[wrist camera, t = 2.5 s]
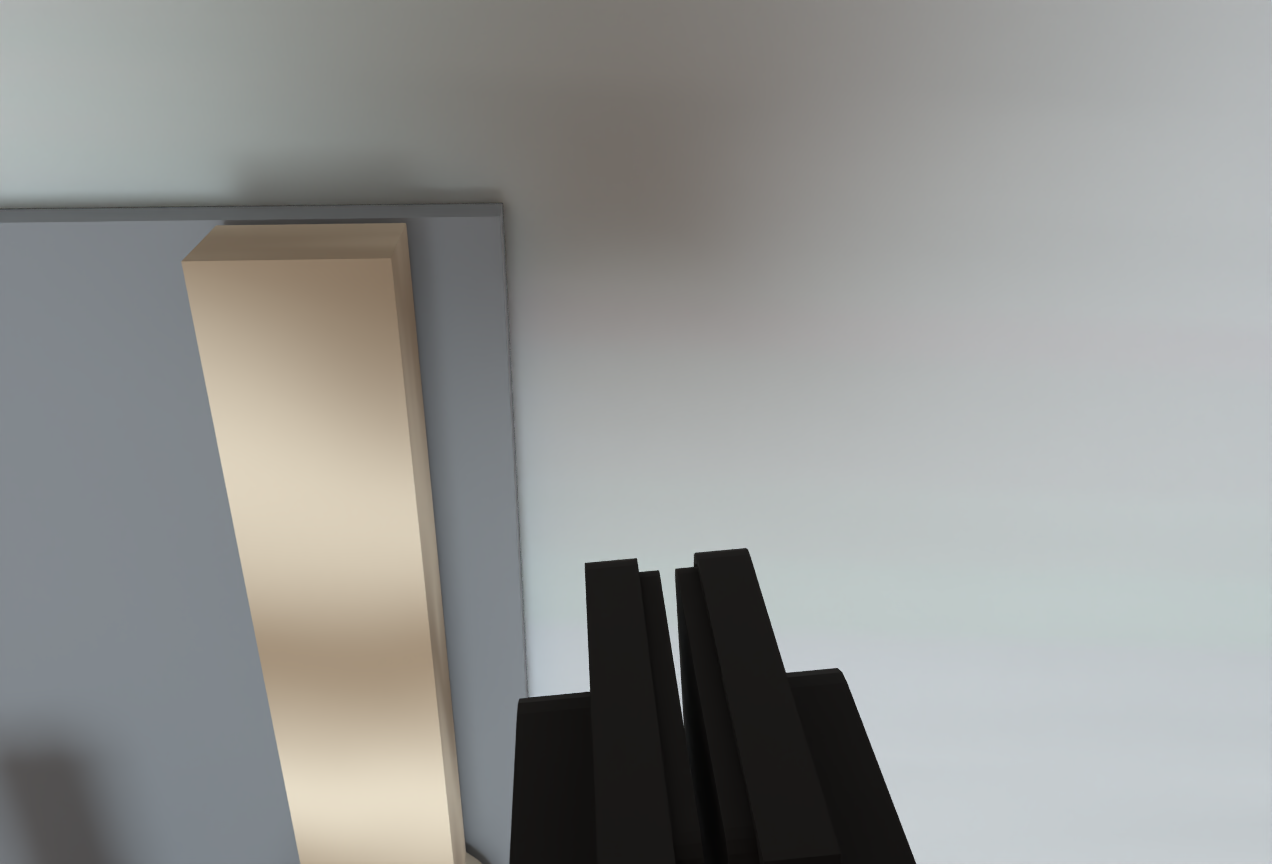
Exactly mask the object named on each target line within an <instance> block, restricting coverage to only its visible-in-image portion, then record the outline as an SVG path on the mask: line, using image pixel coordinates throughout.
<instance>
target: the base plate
mask: <svg viewBox="0 0 1272 864" xmlns="http://www.w3.org/2000/svg"><path fill="white" fill-rule="evenodd" d="M365 223H406V227H407V237H408V248H409V258H410V269H411V279H412V290H413V300H414V311H415V321H416V332H417V342H418V353H419V364H420V374H421V385H422V395H423V406H424V416H425V427H426V437H427V448H428V458H429V469H430V479H431V490H432V500H433V511H434V522H435V532H436V543H437V553H438V564H439V574H440V585H441V595H442V606H443V616H444V627H445V637H446V648H447V659H448V669H449V680H450V690H451V701H452V711H453V722H454V732H455V743H456V753H457V764H458V774H459V785H460V795H461V806H462V817H463V827H464V838H465V848H466V852H467V853H469V854H470V855H472V856H473V857H475V858H476V859H477V860H479V861H480V862H481V863H482V864H509V858H510V839H511V819H512V799H513V779H514V760H515V740H516V720H517V707H518V701H519V699H520V698H528V686H527V667H526V647H525V628H524V609H523V590H522V570H521V551H520V532H519V512H518V493H517V474H516V454H515V435H514V416H513V396H512V377H511V358H510V339H509V319H508V300H507V281H506V261H505V242H504V223H503V203H493V204H408V205H323V206H239V207H154V208H69V209H0V864H300V859H299V854H298V849H297V844H296V839H295V834H294V829H293V824H292V818H291V813H290V808H289V803H288V798H287V793H286V788H285V783H284V778H283V773H282V768H281V763H280V758H279V753H278V748H277V743H276V738H275V733H274V728H273V722H272V717H271V712H270V707H269V702H268V697H267V692H266V687H265V682H264V677H263V672H262V667H261V662H260V657H259V652H258V647H257V642H256V637H255V631H254V626H253V621H252V616H251V611H250V606H249V601H248V596H247V591H246V586H245V581H244V576H243V571H242V566H241V561H240V556H239V551H238V546H237V541H236V535H235V530H234V525H233V520H232V515H231V510H230V505H229V500H228V495H227V490H226V485H225V480H224V475H223V470H222V465H221V460H220V455H219V450H218V445H217V439H216V434H215V429H214V424H213V419H212V414H211V409H210V404H209V399H208V394H207V389H206V384H205V379H204V374H203V369H202V364H201V359H200V354H199V348H198V343H197V338H196V333H195V328H194V323H193V318H192V313H191V308H190V303H189V298H188V293H187V288H186V283H185V278H184V273H183V268H182V263H181V261H182V260H183V259H184V258H185V257H186V256H187V255H188V254H189V253H190V252H191V251H192V250H193V249H194V248H195V247H196V246H197V245H198V244H199V243H200V242H201V241H202V240H203V238H204V237H205V236H206V235H207V234H208V233H209V232H210V231H211V230H212V229H213V228H214V227H215V226H216V225H287V224H365Z"/></svg>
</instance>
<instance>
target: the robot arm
mask: <svg viewBox="0 0 1272 864" xmlns="http://www.w3.org/2000/svg"><path fill="white" fill-rule="evenodd" d="M585 581H586V604H587V628H588V651H589V674H590V692H582V693H572V694H562V695H551V696H541V697H530V698H520V699H519V701H518V707H517V720H516V740H515V760H514V779H513V799H512V819H511V839H510V858H509V864H916V862H915V860H914V857H913V854H912V852H911V849H910V846H909V844H908V841H907V839H906V836H905V833H904V831H903V828H902V825H901V823H900V820H899V818H898V815H897V812H896V810H895V807H894V804H893V802H892V799H891V797H890V794H889V791H888V789H887V786H886V783H885V781H884V778H883V776H882V773H881V770H880V768H879V765H878V762H877V760H876V757H875V755H874V752H873V749H872V747H871V744H870V741H869V739H868V736H867V734H866V731H865V728H864V726H863V723H862V720H861V718H860V715H859V713H858V710H857V707H856V705H855V702H854V699H853V697H852V694H851V692H850V689H849V686H848V684H847V681H846V679H845V677H844V675H843V673H842V672H841V671H840V670H839V669H838V668H833V669H823V670H812V671H802V672H791V673H786V672H785V668H784V665H783V662H782V659H781V655H780V652H779V649H778V645H777V642H776V639H775V636H774V632H773V629H772V626H771V622H770V619H769V616H768V613H767V609H766V606H765V603H764V599H763V596H762V593H761V590H760V586H759V583H758V580H757V577H756V573H755V570H754V567H753V563H752V560H751V557H750V554H749V551H748V549H746V548H743V549H732V550H721V551H710V552H699V553H695V554H694V567H689V568H678V569H675V582H676V599H677V616H678V633H679V650H680V667H681V685H682V702H683V719H684V725H683V719H682V712H681V706H680V700H679V693H678V687H677V681H676V674H675V668H674V662H673V655H672V649H671V643H670V636H669V630H668V624H667V617H666V611H665V605H664V598H663V592H662V585H661V579H660V573H659V570H657V571H646V572H639V570H638V562H637V558H634V559H623V560H612V561H601V562H590V563H585Z"/></svg>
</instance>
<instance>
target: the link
mask: <svg viewBox="0 0 1272 864" xmlns="http://www.w3.org/2000/svg"><path fill="white" fill-rule="evenodd" d="M181 263H182V268H183V273H184V278H185V283H186V288H187V293H188V298H189V303H190V308H191V313H192V318H193V323H194V328H195V333H196V338H197V343H198V348H199V354H200V359H201V364H202V369H203V374H204V379H205V384H206V389H207V394H208V399H209V404H210V409H211V414H212V419H213V424H214V429H215V434H216V439H217V445H218V450H219V455H220V460H221V465H222V470H223V475H224V480H225V485H226V490H227V495H228V500H229V505H230V510H231V515H232V520H233V525H234V530H235V535H236V541H237V546H238V551H239V556H240V561H241V566H242V571H243V576H244V581H245V586H246V591H247V596H248V601H249V606H250V611H251V616H252V621H253V626H254V631H255V637H256V642H257V647H258V652H259V657H260V662H261V667H262V672H263V677H264V682H265V687H266V692H267V697H268V702H269V707H270V712H271V717H272V722H273V728H274V733H275V738H276V743H277V748H278V753H279V758H280V763H281V768H282V773H283V778H284V783H285V788H286V793H287V798H288V803H289V808H290V813H291V818H292V824H293V829H294V834H295V839H296V844H297V849H298V854H299V859H300V864H482V863H481V862H480V861H479V860H477V859H476V858H475V857H473V856H472V855H470V854H469V853H467V852H466V848H465V838H464V827H463V817H462V806H461V795H460V785H459V774H458V764H457V753H456V743H455V732H454V722H453V711H452V701H451V690H450V680H449V669H448V659H447V648H446V637H445V627H444V616H443V606H442V595H441V585H440V574H439V564H438V553H437V543H436V532H435V522H434V511H433V500H432V490H431V479H430V469H429V458H428V448H427V437H426V427H425V416H424V406H423V395H422V385H421V374H420V364H419V353H418V342H417V332H416V321H415V311H414V300H413V290H412V279H411V269H410V258H409V248H408V237H407V227H406V223H365V224H287V225H216V226H215V227H214V228H213V229H212V230H211V231H210V232H209V233H208V234H207V235H206V236H205V237H204V238H203V240H202V241H201V242H200V243H199V244H198V245H197V246H196V247H195V248H194V249H193V250H192V251H191V252H190V253H189V254H188V255H187V256H186V257H185V258H184V259H183V260H182V261H181Z"/></svg>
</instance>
